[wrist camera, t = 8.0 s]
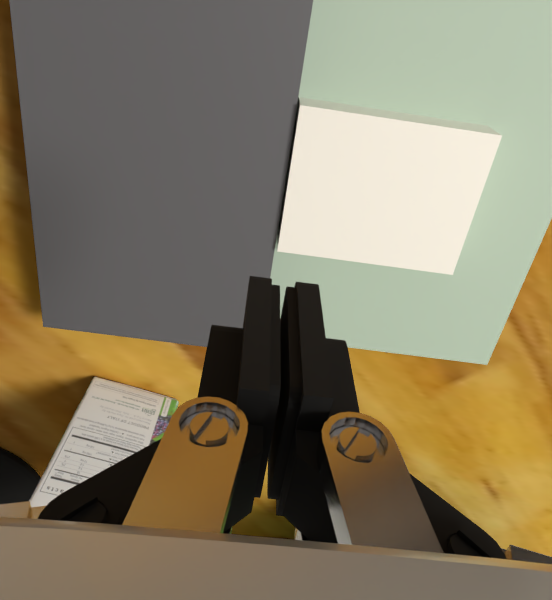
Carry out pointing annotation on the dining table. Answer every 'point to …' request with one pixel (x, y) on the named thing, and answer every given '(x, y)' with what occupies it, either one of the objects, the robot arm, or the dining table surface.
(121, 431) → the syrup box
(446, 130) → the tile
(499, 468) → the dining table surface
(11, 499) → the wine glass
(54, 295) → the block
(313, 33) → the mat
